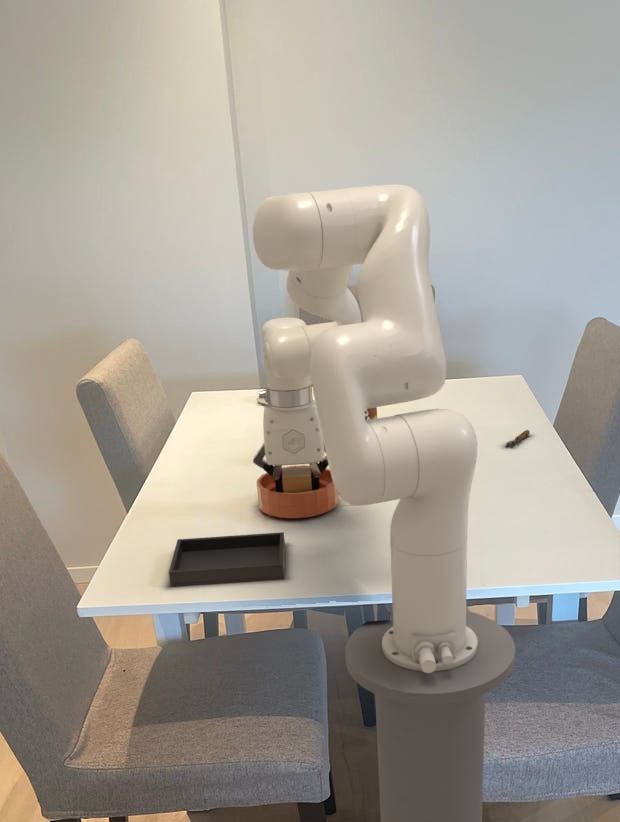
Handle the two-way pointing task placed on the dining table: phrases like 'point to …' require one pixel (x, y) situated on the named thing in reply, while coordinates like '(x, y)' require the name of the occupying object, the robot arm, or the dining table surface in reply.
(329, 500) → the bowl
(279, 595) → the dining table surface
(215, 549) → the pan
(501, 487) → the dining table surface
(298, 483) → the block
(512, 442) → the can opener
